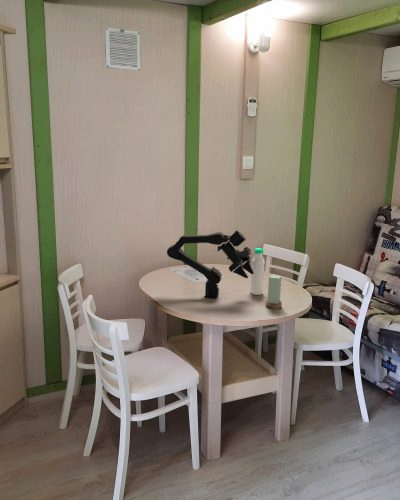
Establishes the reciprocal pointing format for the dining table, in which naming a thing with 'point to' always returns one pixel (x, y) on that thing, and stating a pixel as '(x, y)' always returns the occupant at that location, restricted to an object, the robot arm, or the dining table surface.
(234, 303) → the dining table surface
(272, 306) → the walnut plinth
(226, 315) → the dining table surface
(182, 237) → the robot arm
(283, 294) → the dining table surface
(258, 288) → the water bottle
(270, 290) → the sage post
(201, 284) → the dining table surface
